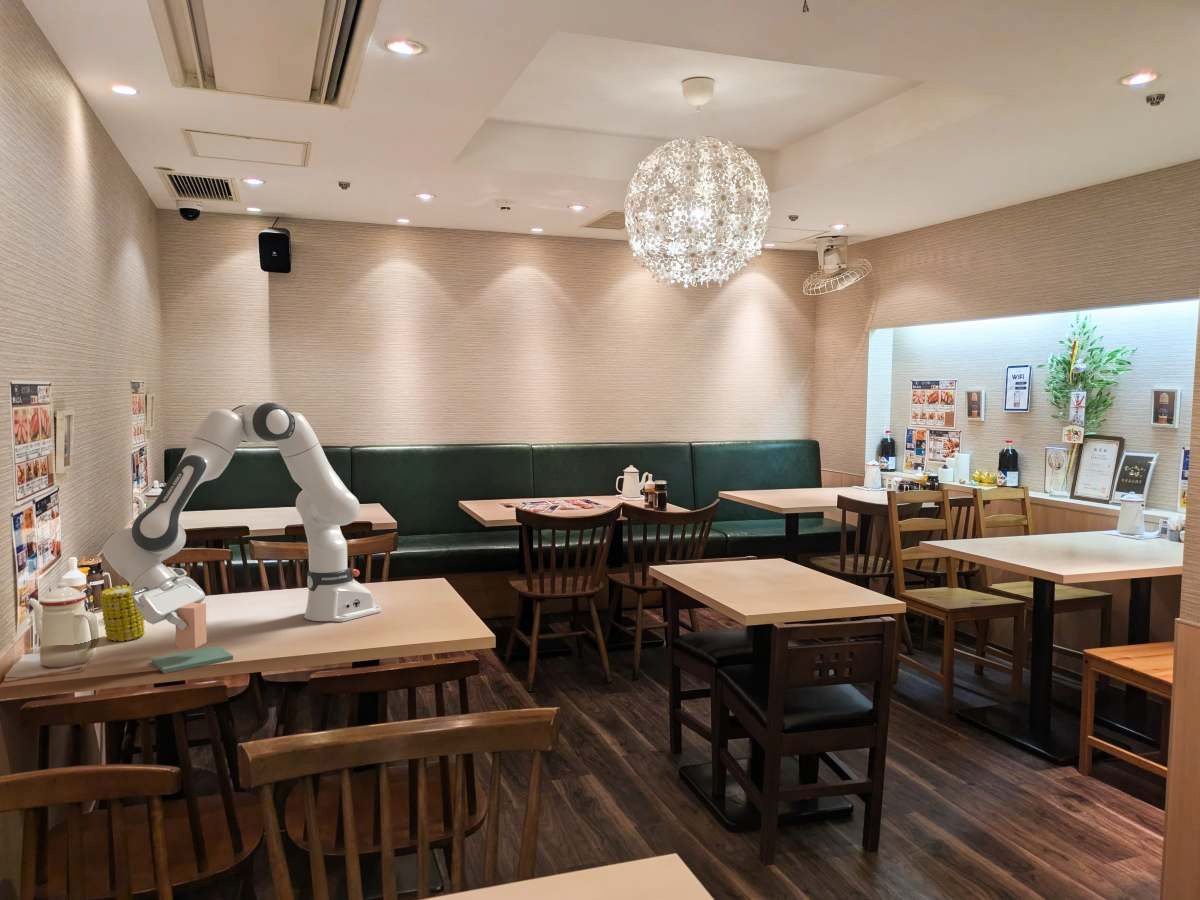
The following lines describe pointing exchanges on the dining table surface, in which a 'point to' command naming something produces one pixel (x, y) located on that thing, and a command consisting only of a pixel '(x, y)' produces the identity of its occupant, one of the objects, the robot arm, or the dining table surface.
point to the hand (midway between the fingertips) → (193, 623)
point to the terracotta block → (192, 625)
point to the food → (121, 614)
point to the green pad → (191, 659)
